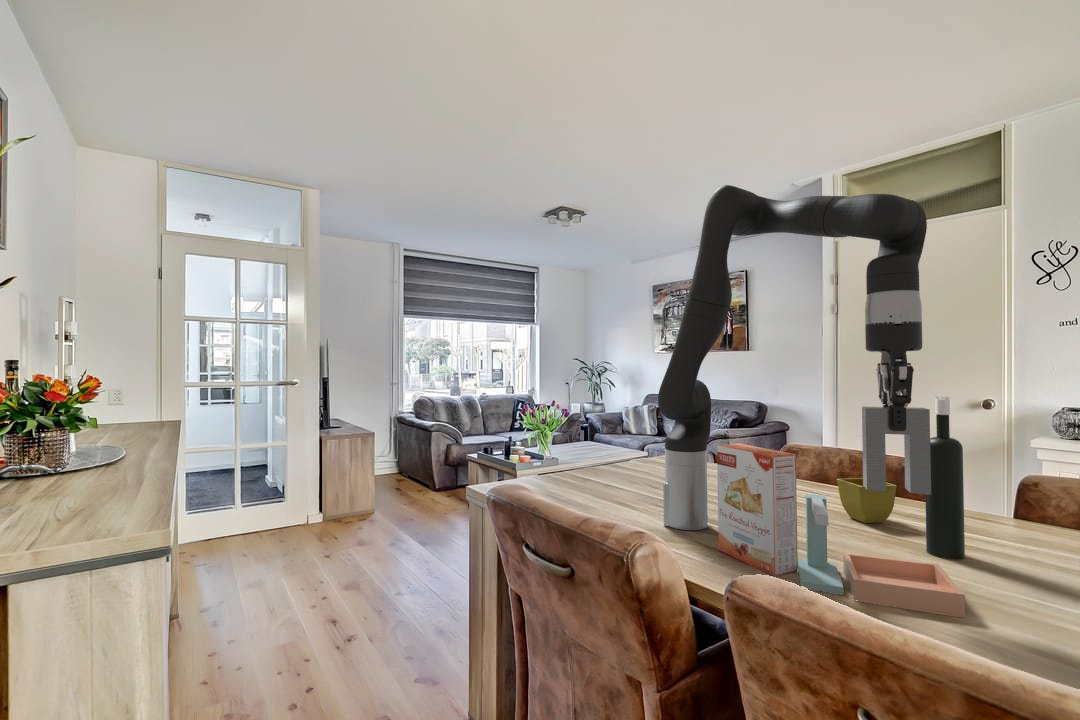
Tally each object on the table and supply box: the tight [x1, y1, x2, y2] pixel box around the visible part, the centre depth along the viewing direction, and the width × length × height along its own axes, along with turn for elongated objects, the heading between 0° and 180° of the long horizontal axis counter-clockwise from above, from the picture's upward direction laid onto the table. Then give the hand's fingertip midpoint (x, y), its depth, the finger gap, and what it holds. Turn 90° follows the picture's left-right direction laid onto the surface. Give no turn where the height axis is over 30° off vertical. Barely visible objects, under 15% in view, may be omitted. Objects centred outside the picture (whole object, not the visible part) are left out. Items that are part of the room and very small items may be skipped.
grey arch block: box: [861, 406, 931, 495], centre depth 83 cm, size 8×4×13 cm, turn 66°
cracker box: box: [716, 442, 799, 577], centre depth 96 cm, size 14×6×21 cm, turn 22°
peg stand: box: [797, 493, 845, 596], centre depth 86 cm, size 6×14×13 cm, turn 156°
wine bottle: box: [925, 396, 966, 561], centre depth 99 cm, size 6×6×30 cm
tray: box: [842, 552, 966, 619], centre depth 82 cm, size 14×13×3 cm
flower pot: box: [836, 477, 897, 524], centre depth 121 cm, size 9×9×9 cm
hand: (894, 428), depth 83 cm, fingers closed on grey arch block, 3 cm apart
